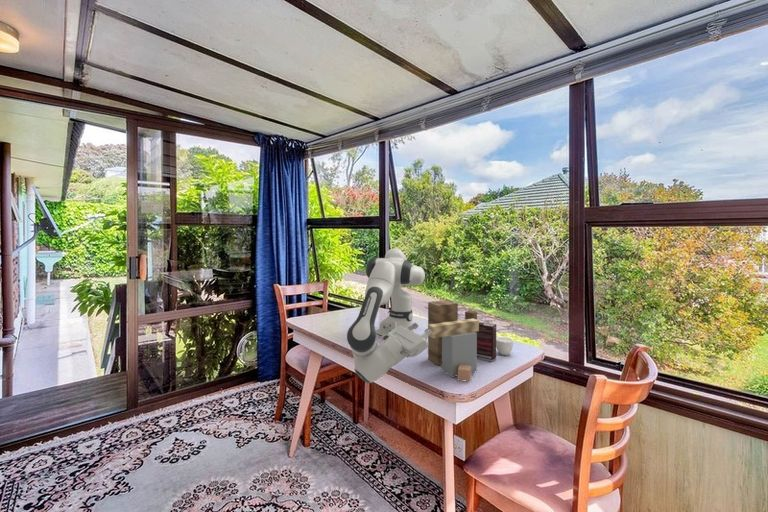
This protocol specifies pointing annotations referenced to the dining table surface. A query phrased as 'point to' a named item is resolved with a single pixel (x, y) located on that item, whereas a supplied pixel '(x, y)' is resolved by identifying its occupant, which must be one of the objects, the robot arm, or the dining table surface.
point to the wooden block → (470, 315)
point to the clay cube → (464, 372)
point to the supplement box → (486, 341)
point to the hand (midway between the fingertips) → (423, 327)
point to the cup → (504, 345)
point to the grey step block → (459, 352)
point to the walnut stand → (439, 314)
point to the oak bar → (453, 328)
